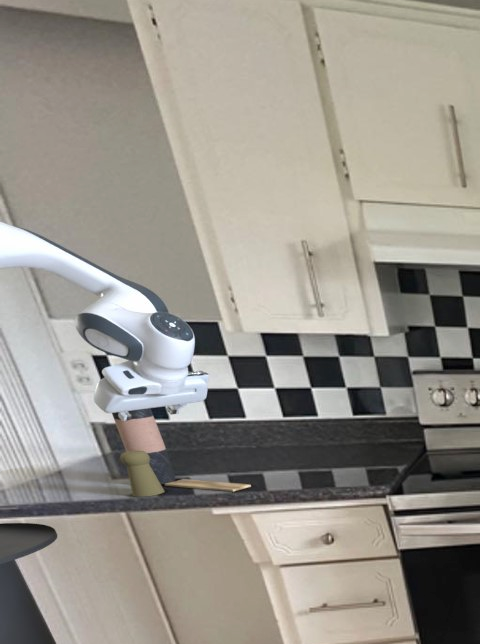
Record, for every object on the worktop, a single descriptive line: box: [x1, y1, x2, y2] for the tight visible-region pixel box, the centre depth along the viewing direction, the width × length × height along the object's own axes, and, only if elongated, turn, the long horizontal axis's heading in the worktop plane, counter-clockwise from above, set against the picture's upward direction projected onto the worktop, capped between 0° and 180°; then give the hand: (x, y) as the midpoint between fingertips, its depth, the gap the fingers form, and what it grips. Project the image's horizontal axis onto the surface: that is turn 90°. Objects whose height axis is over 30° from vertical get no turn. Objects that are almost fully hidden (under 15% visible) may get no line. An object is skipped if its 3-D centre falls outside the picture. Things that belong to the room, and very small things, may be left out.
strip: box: [164, 478, 252, 493], centre depth 174 cm, size 5×22×1 cm, turn 79°
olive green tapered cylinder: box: [119, 451, 166, 498], centre depth 165 cm, size 6×6×11 cm
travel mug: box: [111, 408, 177, 485], centre depth 173 cm, size 8×8×20 cm
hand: (148, 415), depth 155 cm, fingers open, 8 cm apart
